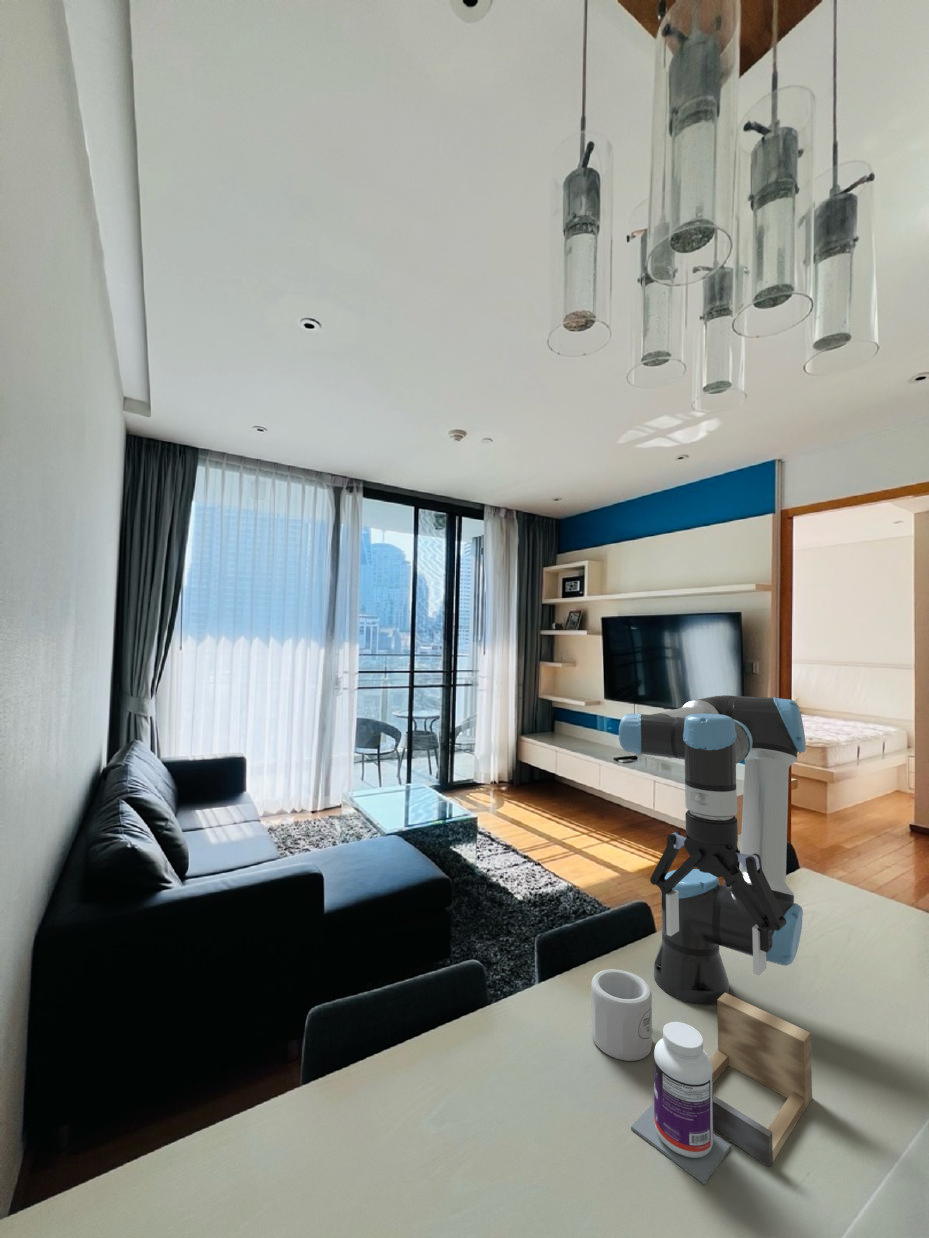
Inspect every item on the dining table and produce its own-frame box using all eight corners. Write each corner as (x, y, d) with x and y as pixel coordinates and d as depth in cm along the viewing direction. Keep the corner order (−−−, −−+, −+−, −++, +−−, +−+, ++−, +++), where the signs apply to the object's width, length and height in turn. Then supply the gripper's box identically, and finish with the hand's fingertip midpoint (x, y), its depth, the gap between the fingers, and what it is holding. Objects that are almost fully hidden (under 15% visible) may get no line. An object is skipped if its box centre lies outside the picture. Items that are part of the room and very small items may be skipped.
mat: (630, 1128, 80) (630, 1126, 80) (659, 1099, 85) (659, 1096, 85) (704, 1184, 71) (704, 1181, 72) (730, 1147, 77) (730, 1144, 77)
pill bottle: (665, 1104, 84) (664, 1008, 85) (720, 1134, 79) (719, 1031, 80) (645, 1139, 78) (645, 1035, 79) (704, 1174, 72) (703, 1062, 73)
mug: (635, 1072, 91) (635, 1011, 91) (580, 1040, 98) (580, 983, 99) (668, 1033, 100) (667, 978, 101) (615, 1007, 108) (615, 955, 109)
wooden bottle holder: (676, 1104, 84) (675, 1037, 85) (725, 1050, 96) (725, 992, 97) (769, 1167, 74) (768, 1090, 75) (812, 1097, 86) (810, 1032, 87)
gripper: (628, 799, 92) (630, 926, 91) (789, 840, 73) (793, 1001, 72) (652, 792, 97) (653, 912, 95) (808, 828, 78) (812, 978, 76)
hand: (713, 950), depth 84 cm, fingers open, 13 cm apart
